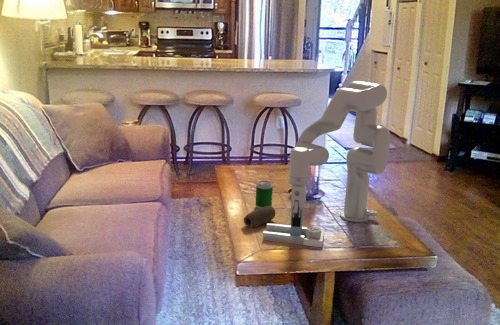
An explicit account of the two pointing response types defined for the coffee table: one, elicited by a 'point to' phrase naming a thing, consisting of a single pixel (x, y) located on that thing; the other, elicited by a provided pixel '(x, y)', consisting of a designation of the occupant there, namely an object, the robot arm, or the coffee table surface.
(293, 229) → the block
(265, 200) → the soda can
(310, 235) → the die
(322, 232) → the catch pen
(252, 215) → the brown hollow cylinder
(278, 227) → the slot rails
